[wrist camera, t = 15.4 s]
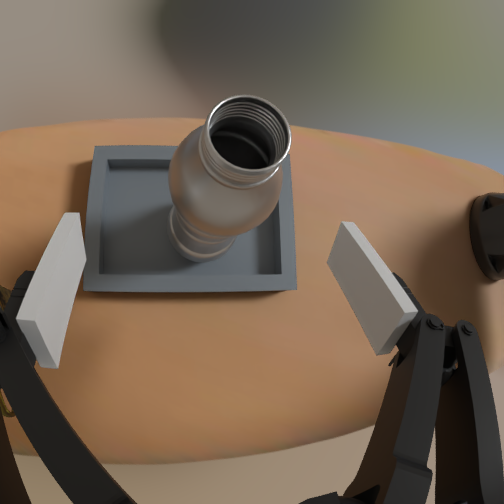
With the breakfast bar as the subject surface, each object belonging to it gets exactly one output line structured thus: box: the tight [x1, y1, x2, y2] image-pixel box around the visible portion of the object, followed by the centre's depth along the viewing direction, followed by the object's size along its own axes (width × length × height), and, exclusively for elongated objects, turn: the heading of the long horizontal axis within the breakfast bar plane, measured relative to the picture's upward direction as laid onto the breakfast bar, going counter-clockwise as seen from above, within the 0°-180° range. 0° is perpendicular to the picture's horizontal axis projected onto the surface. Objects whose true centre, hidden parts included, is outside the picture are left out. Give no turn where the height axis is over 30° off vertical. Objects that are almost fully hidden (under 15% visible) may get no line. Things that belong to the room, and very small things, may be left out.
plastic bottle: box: [167, 94, 291, 263], centre depth 22 cm, size 6×7×20 cm
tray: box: [83, 145, 297, 292], centre depth 31 cm, size 20×14×3 cm
